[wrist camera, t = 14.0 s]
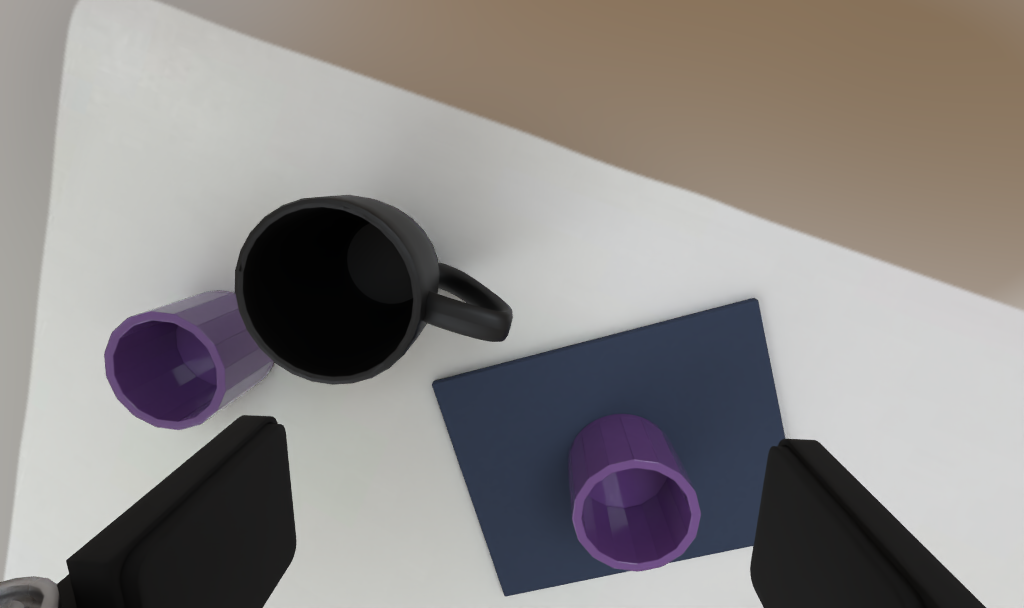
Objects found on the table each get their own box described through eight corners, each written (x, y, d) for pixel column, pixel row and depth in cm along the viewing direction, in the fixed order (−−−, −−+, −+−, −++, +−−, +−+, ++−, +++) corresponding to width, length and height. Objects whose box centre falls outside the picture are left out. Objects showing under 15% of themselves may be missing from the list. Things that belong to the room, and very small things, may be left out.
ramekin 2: (661, 402, 32) (685, 447, 27) (684, 495, 33) (711, 557, 28) (556, 427, 33) (558, 476, 27) (582, 517, 34) (590, 581, 29)
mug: (500, 358, 33) (483, 428, 23) (312, 308, 33) (221, 358, 23) (534, 229, 31) (531, 250, 21) (335, 176, 31) (246, 174, 21)
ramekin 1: (253, 277, 32) (194, 297, 27) (292, 375, 34) (244, 413, 28) (158, 306, 33) (83, 330, 28) (201, 400, 34) (136, 441, 29)
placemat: (754, 297, 31) (758, 299, 30) (800, 529, 34) (804, 535, 34) (433, 380, 33) (431, 384, 33) (505, 590, 36) (504, 597, 36)
